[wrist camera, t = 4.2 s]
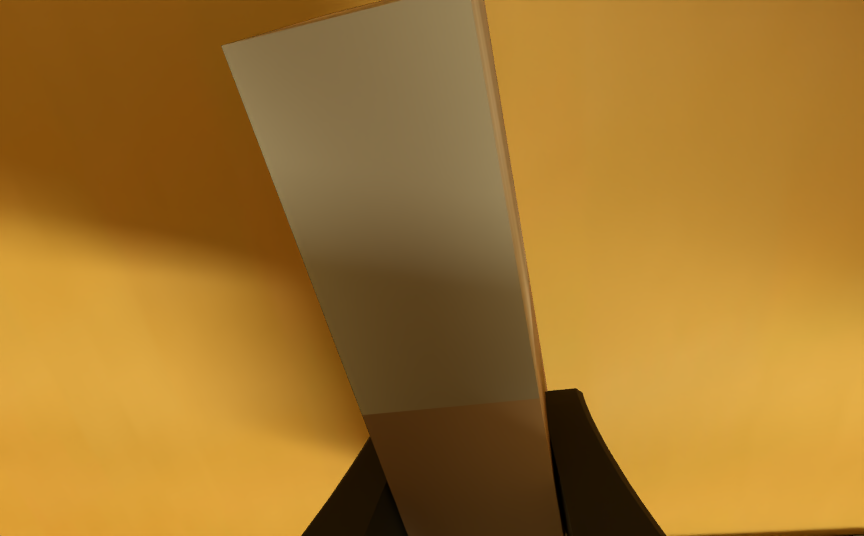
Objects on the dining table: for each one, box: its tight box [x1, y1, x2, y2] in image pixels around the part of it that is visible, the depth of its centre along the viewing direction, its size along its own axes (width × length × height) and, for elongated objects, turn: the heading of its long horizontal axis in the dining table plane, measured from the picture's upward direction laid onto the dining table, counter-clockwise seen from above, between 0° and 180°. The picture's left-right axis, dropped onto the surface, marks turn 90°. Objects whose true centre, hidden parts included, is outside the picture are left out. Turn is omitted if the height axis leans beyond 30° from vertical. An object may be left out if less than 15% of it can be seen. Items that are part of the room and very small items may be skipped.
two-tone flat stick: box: [222, 0, 566, 536], centre depth 11 cm, size 2×16×4 cm, turn 13°
